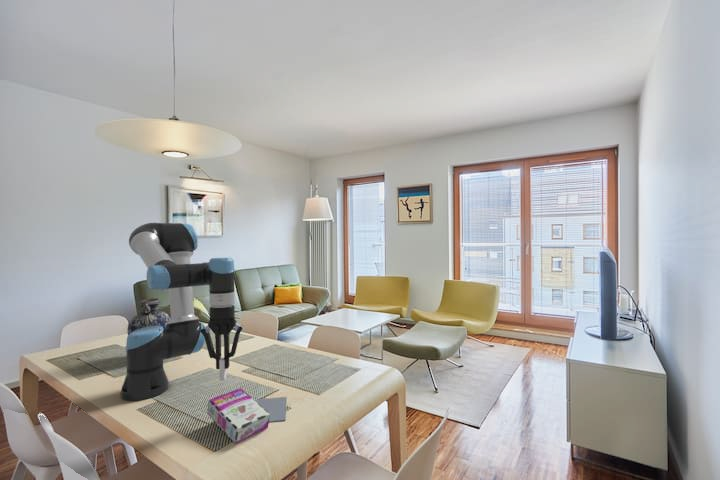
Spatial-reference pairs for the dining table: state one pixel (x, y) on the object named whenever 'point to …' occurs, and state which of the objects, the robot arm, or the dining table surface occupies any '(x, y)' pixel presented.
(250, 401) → the candy bar box
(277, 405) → the mat
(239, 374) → the dining table surface
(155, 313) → the decorative vase
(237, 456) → the dining table surface
